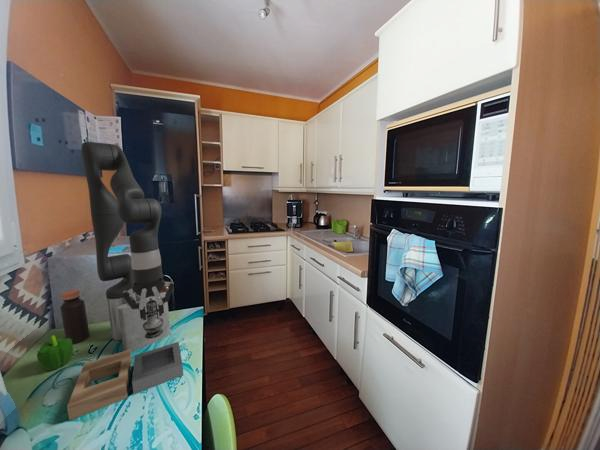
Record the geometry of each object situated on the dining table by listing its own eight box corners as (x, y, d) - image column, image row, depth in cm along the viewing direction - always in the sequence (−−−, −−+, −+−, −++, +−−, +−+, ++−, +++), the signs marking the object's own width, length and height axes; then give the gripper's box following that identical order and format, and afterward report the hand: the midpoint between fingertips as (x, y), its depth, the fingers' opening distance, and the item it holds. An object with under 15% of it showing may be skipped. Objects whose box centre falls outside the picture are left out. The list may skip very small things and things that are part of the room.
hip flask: (168, 330, 98) (164, 285, 95) (172, 334, 95) (168, 288, 92) (122, 350, 86) (115, 300, 83) (126, 355, 83) (118, 303, 80)
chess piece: (140, 340, 71) (136, 303, 69) (147, 329, 76) (143, 295, 74) (162, 337, 72) (158, 301, 70) (167, 326, 78) (163, 292, 76)
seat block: (136, 366, 78) (134, 355, 78) (179, 351, 85) (178, 341, 85) (133, 394, 67) (132, 382, 67) (183, 375, 74) (182, 363, 74)
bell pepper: (71, 367, 78) (66, 340, 77) (36, 378, 74) (30, 349, 72) (78, 352, 85) (74, 327, 84) (46, 361, 81) (41, 335, 79)
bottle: (71, 336, 95) (63, 290, 92) (92, 332, 97) (85, 287, 95) (62, 346, 89) (53, 297, 86) (85, 341, 91) (77, 293, 88)
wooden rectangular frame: (86, 374, 75) (84, 363, 74) (131, 359, 81) (130, 349, 81) (69, 420, 60) (66, 406, 59) (127, 398, 66) (125, 385, 66)
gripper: (172, 257, 78) (176, 306, 80) (119, 265, 70) (126, 318, 73) (174, 263, 71) (178, 315, 74) (115, 272, 64) (123, 330, 67)
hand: (152, 316), depth 73 cm, fingers closed on chess piece, 3 cm apart
